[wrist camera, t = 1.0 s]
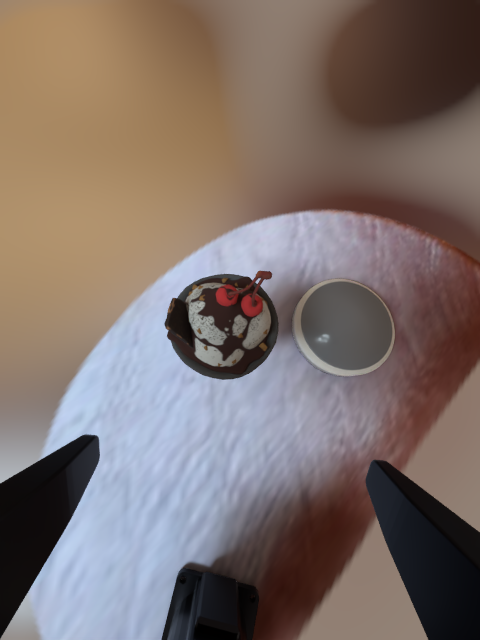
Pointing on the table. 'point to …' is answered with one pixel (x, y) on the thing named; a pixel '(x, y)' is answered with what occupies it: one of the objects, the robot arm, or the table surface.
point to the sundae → (223, 325)
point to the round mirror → (343, 328)
